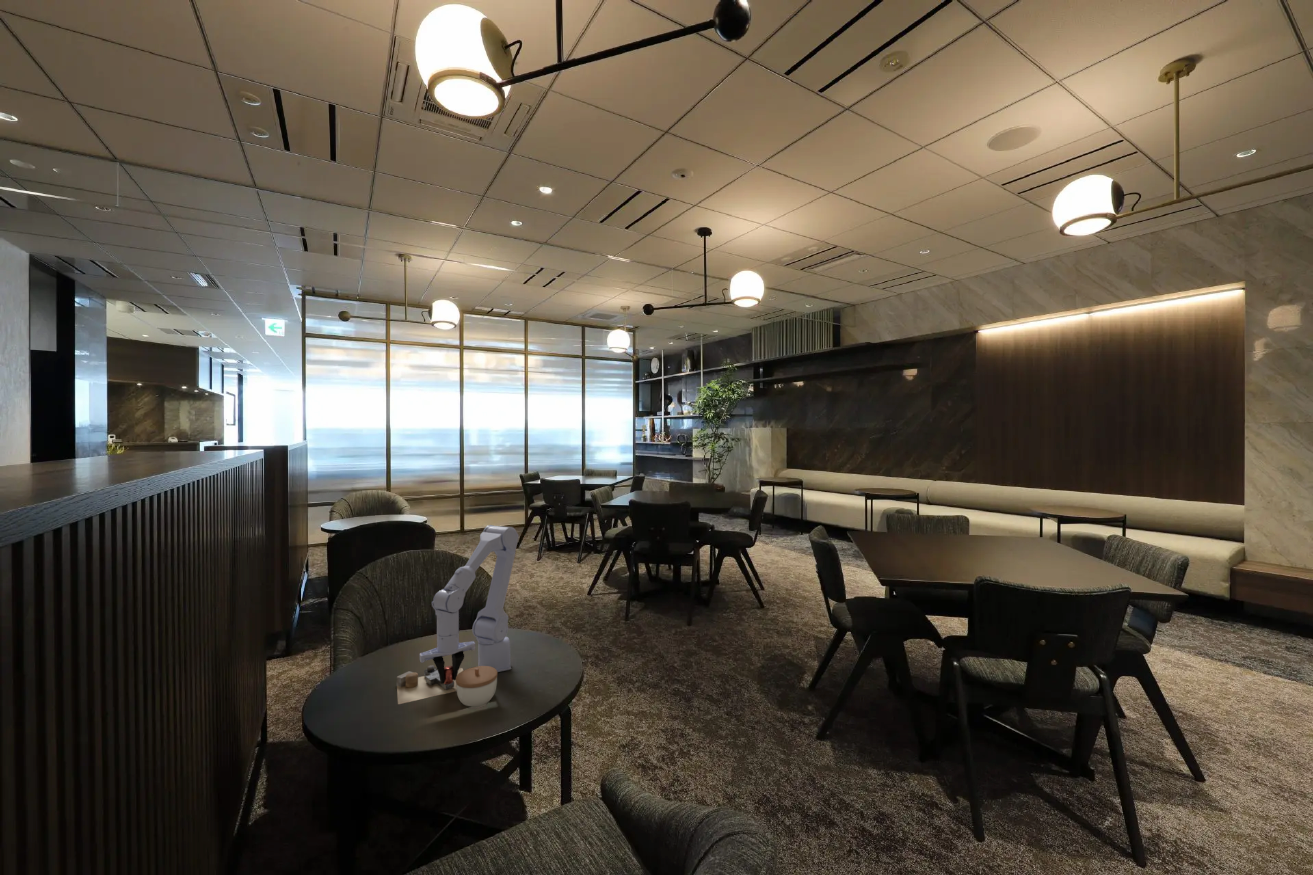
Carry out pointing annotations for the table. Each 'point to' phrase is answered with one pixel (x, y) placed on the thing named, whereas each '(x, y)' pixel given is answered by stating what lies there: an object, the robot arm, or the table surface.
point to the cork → (411, 680)
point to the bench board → (420, 688)
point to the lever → (434, 677)
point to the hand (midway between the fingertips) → (448, 680)
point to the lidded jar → (476, 686)
